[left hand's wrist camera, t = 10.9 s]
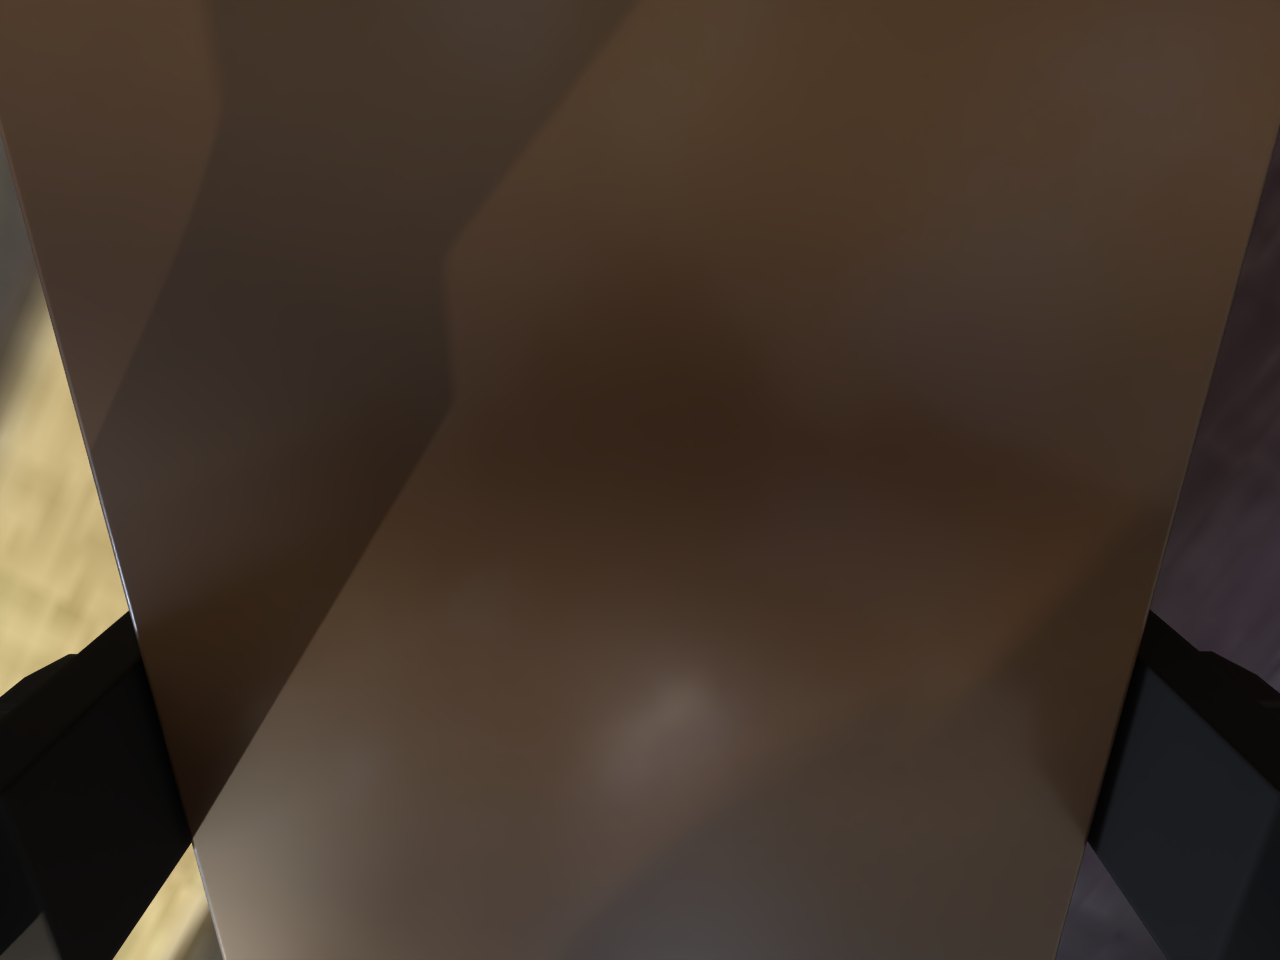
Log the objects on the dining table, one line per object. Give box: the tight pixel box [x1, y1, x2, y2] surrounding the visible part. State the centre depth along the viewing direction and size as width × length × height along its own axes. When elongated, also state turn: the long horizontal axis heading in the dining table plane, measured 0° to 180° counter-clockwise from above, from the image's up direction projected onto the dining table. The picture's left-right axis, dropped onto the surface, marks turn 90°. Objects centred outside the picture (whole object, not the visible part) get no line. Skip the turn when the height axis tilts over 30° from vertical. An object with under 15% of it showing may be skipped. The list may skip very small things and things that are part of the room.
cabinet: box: [0, 0, 1280, 960], centre depth 11 cm, size 18×11×8 cm, turn 0°
